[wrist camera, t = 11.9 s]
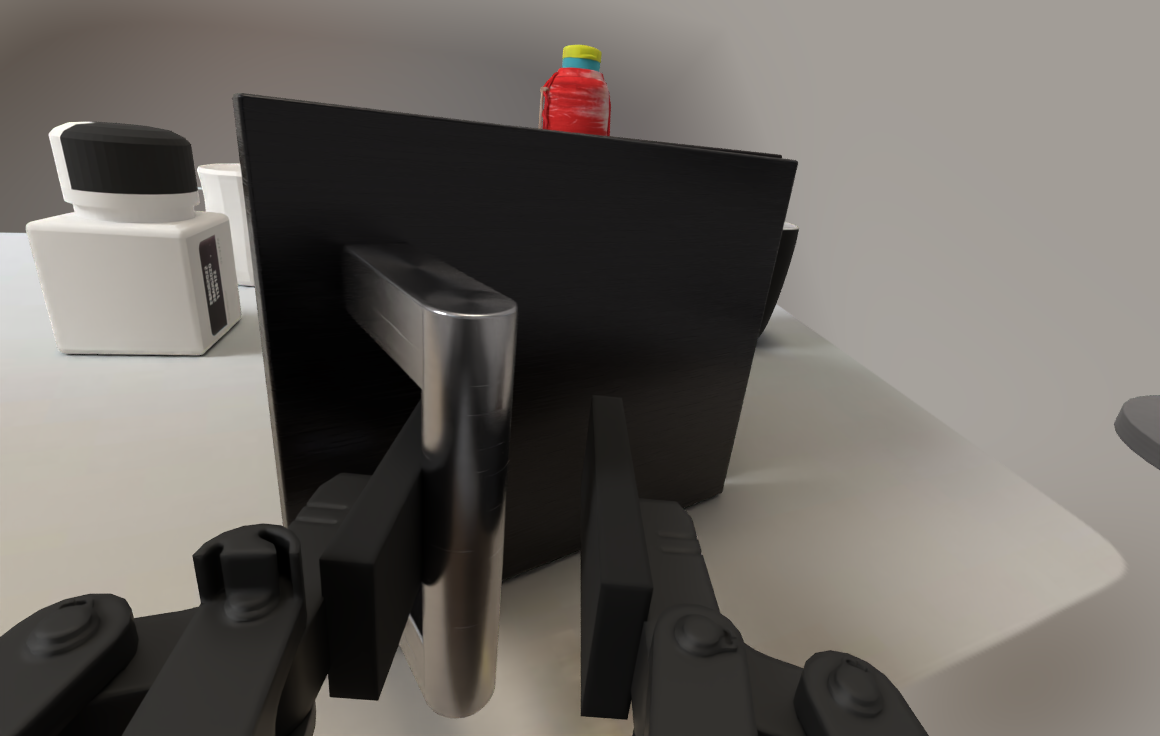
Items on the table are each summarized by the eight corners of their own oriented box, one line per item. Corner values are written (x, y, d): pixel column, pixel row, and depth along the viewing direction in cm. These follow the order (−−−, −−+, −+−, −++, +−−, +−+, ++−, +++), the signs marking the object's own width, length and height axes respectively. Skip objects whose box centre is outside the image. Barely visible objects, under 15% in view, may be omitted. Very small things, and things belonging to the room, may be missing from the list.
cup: (302, 260, 60) (294, 165, 57) (342, 282, 54) (336, 176, 50) (198, 267, 54) (182, 160, 50) (231, 293, 47) (215, 172, 44)
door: (835, 570, 22) (970, 177, 16) (361, 867, 12) (301, 89, 6) (706, 482, 27) (777, 158, 21) (296, 636, 17) (231, 92, 11)
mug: (673, 313, 55) (690, 208, 52) (765, 327, 54) (790, 220, 50) (666, 352, 44) (688, 222, 41) (782, 370, 43) (816, 238, 39)
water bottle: (518, 270, 66) (533, 29, 57) (499, 256, 73) (509, 38, 64) (608, 271, 71) (635, 49, 62) (582, 257, 78) (603, 55, 69)
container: (243, 319, 42) (219, 131, 37) (204, 357, 35) (167, 132, 30) (123, 316, 40) (80, 117, 35) (55, 355, 33) (-9, 115, 28)
